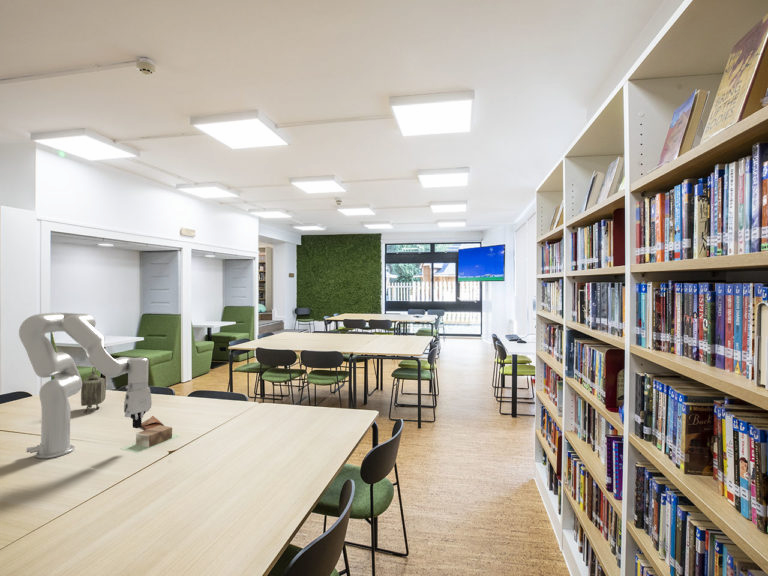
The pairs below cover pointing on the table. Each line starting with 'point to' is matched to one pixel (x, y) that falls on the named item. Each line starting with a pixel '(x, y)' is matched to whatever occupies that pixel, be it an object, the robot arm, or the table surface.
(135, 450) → the felt mat
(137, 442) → the walnut block
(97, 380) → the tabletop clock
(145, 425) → the sunglasses case
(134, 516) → the table surface
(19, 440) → the table surface
